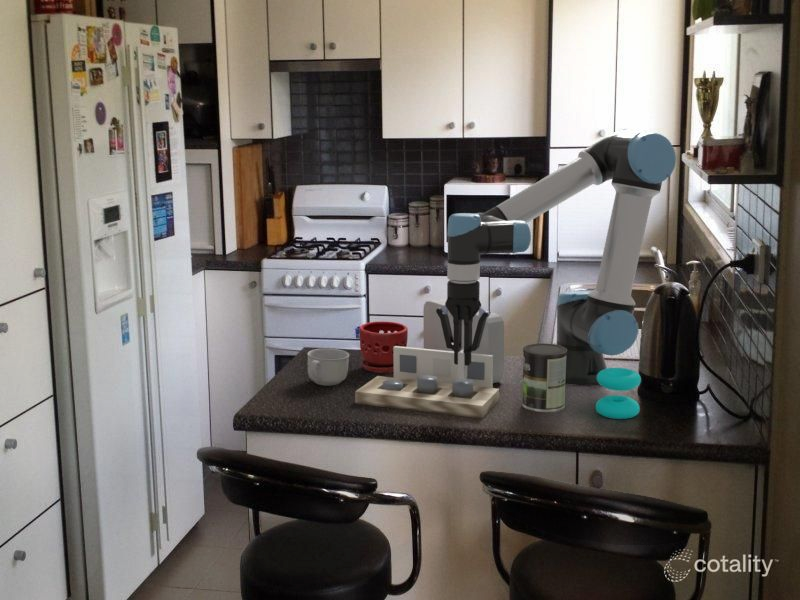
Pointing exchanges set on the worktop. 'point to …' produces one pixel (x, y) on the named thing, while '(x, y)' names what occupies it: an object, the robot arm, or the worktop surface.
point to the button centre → (427, 384)
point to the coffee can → (544, 377)
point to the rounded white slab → (489, 342)
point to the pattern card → (441, 365)
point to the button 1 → (393, 385)
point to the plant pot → (381, 344)
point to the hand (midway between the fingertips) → (462, 377)
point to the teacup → (327, 366)
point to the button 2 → (462, 388)
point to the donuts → (618, 404)
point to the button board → (428, 398)
